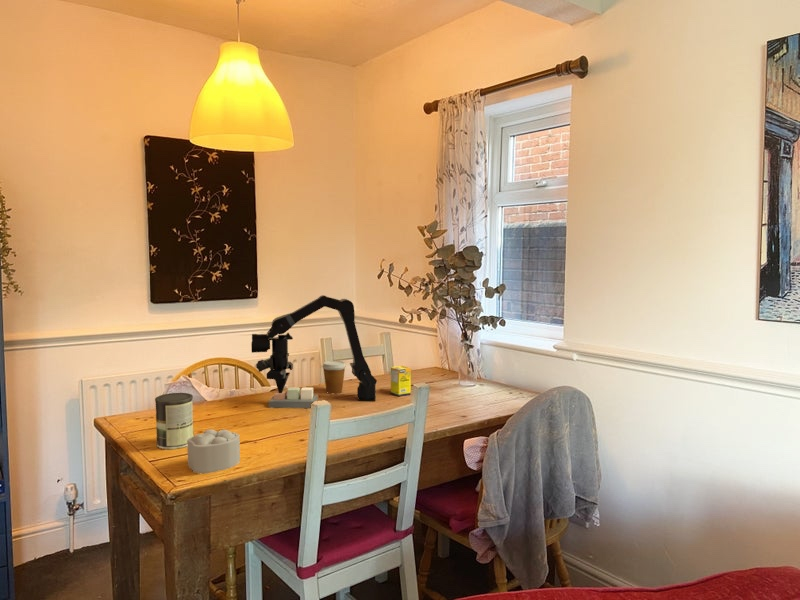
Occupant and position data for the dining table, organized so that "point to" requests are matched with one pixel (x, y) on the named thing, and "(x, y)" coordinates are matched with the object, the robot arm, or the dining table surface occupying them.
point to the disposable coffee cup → (334, 376)
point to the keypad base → (291, 403)
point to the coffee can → (174, 420)
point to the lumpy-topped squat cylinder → (213, 451)
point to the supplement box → (400, 380)
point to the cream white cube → (306, 393)
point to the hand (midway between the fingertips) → (280, 392)
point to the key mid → (293, 393)
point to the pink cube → (280, 395)
